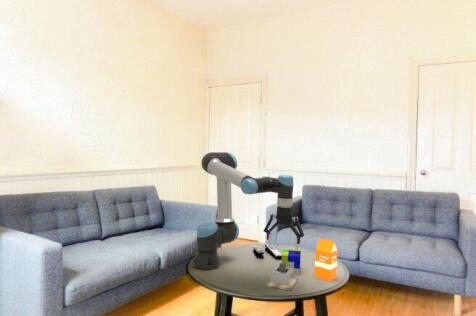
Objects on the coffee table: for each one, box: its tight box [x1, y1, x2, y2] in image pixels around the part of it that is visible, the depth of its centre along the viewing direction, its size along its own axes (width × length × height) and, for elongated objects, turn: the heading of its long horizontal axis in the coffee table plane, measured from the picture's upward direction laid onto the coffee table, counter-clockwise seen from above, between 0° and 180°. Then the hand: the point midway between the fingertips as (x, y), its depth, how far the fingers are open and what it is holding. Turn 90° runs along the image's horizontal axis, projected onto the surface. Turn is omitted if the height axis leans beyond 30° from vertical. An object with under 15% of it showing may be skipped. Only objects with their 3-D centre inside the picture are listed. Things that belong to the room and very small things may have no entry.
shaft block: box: [267, 262, 297, 292], centre depth 168 cm, size 12×12×10 cm
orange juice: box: [314, 238, 338, 282], centre depth 179 cm, size 8×9×20 cm
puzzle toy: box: [281, 249, 302, 276], centre depth 187 cm, size 10×10×10 cm
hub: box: [270, 265, 294, 287], centre depth 168 cm, size 9×9×6 cm
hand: (282, 248), depth 168 cm, fingers open, 13 cm apart
